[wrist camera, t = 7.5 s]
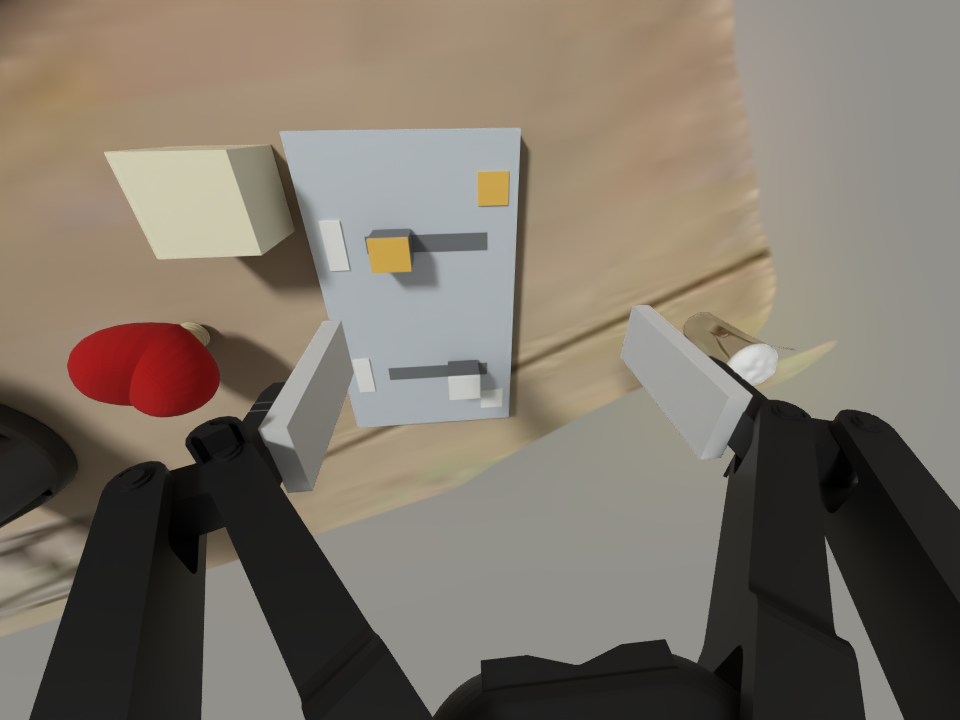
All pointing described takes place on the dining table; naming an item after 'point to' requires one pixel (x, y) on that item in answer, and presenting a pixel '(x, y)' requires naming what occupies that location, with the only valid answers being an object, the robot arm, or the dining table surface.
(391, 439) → the dining table surface
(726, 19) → the dining table surface
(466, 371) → the breaker
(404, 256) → the breaker
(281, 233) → the cap
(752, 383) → the milkshake
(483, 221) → the panel
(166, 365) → the light bulb
